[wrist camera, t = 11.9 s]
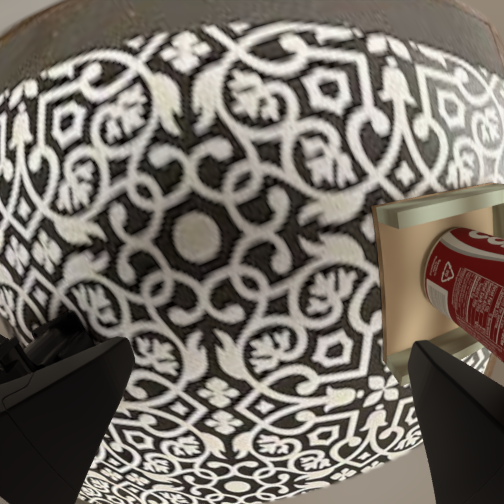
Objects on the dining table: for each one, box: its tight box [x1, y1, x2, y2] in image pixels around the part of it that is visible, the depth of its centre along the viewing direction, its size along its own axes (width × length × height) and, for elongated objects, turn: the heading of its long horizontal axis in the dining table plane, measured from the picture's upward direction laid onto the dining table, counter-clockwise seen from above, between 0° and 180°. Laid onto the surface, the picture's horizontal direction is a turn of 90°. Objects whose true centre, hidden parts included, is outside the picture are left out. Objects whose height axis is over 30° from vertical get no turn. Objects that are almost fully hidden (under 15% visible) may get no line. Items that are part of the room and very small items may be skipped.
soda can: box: [424, 227, 504, 362], centre depth 13 cm, size 7×7×12 cm
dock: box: [371, 183, 504, 386], centre depth 18 cm, size 13×13×4 cm
